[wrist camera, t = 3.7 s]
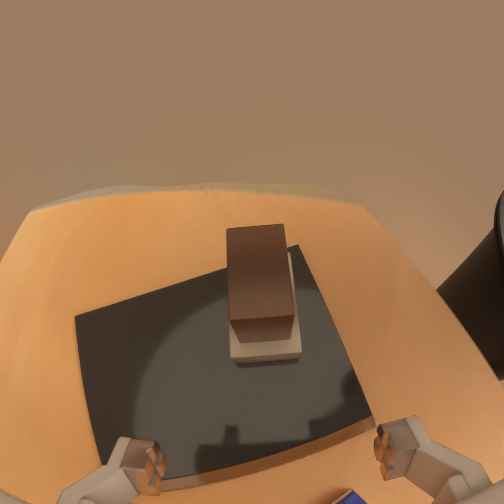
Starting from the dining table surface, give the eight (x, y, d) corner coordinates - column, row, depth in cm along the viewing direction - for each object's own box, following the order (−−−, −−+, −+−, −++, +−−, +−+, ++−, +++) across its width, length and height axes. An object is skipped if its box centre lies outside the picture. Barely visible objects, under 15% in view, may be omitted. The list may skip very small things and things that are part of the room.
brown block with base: (230, 271, 27) (215, 216, 20) (289, 266, 27) (292, 209, 20) (234, 363, 23) (216, 339, 16) (299, 358, 23) (310, 331, 16)
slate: (297, 246, 29) (297, 243, 28) (374, 425, 20) (376, 425, 20) (76, 317, 26) (74, 315, 26) (114, 495, 18) (111, 496, 18)
